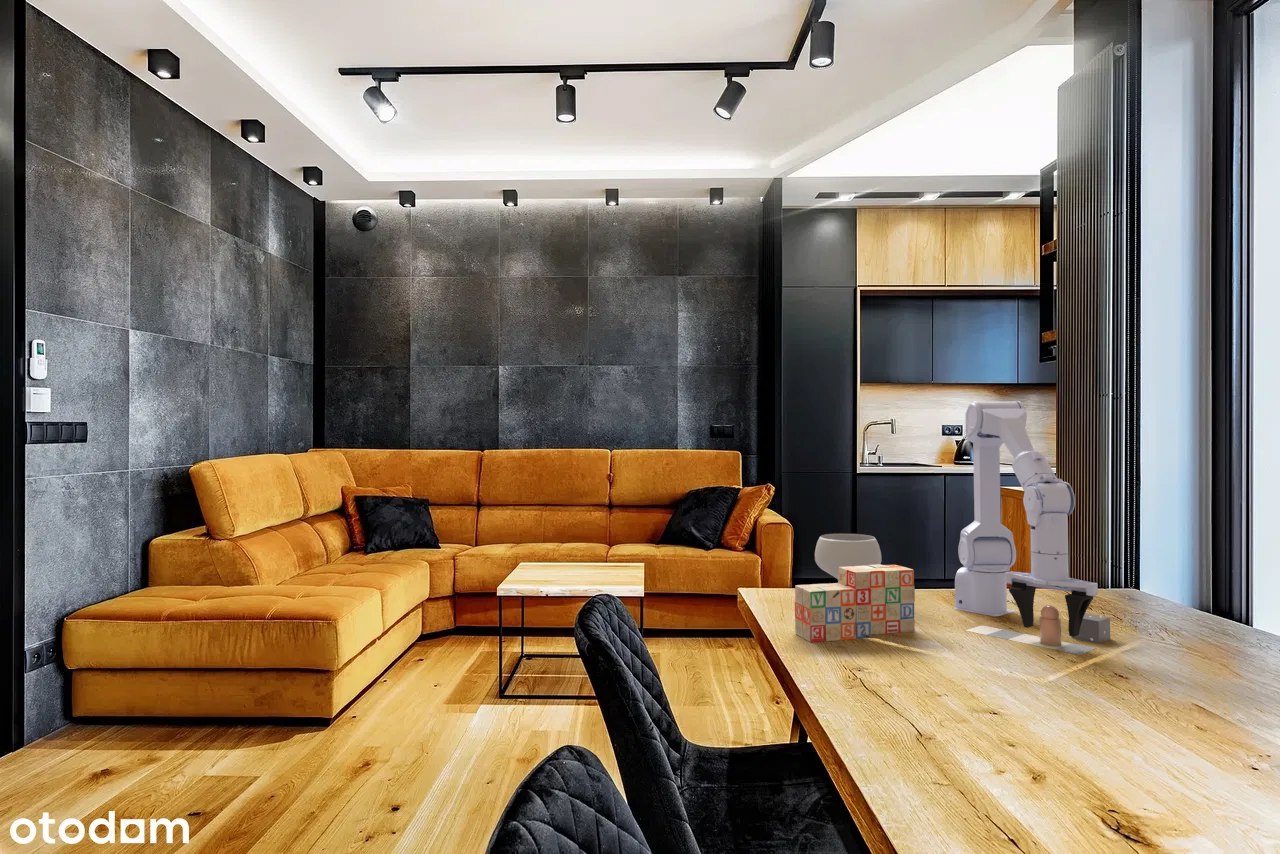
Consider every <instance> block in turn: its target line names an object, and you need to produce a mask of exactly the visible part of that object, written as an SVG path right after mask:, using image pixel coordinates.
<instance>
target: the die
mask: <svg viewBox="0 0 1280 854" xmlns="http://www.w3.org/2000/svg"><path fill="white" fill-rule="evenodd" d="M1071 639H1074V640H1075V639H1076V640H1080V641H1085V642H1091V643H1095V644H1102V643H1104V642H1106V641H1109V640H1111V617H1108V616H1103V615H1098V614H1094V613H1093V614H1092V613H1086V612H1085V614H1084V617H1083V620H1082V623H1081V627H1080V631H1079V635H1077V636H1075V637H1073V636H1071Z"/></svg>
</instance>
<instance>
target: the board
mask: <svg viewBox="0 0 1280 854" xmlns="http://www.w3.org/2000/svg"><path fill="white" fill-rule="evenodd" d="M965 632H969V633H970V632H971V633H973V634H978V635H985V636H989V637H994V638H998V639H1002V640H1003V639H1004V640H1007V641H1013V642H1017V643H1021V644H1022V643H1023V644H1027V645H1032V646H1035V647H1040V648H1046V649H1050V650H1053V651H1054V650H1055V651H1061V652H1065V653H1068V654H1074V655H1078V656H1080V655H1083V654H1086V653H1088V652H1091V651H1094V650H1096V649H1097V648H1096V647H1091V646H1087V645H1083V644H1077V643H1073V642H1072V643H1071V642H1067V641H1062V640H1061V646H1047V645H1043V644H1041V643H1040V636H1038V635H1032V634H1026V633H1023V632H1017V631H1011V630H1007V629H1003V628H1002V629H1001V628H997V627H992V626H989V625H988V626H987V625H979V626H975V627H971V628H969V629H966V630H965Z"/></svg>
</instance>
